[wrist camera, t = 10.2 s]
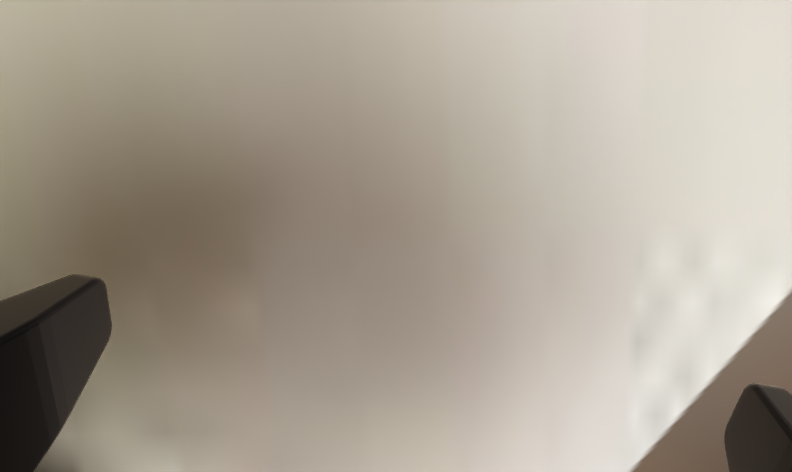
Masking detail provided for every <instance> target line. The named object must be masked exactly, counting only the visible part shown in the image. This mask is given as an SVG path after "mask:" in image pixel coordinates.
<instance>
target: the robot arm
mask: <svg viewBox="0 0 792 472" xmlns="http://www.w3.org/2000/svg"><path fill="white" fill-rule="evenodd" d="M111 328H112V323H111V316H110V309H109V302H108V295H107V289H106V285H105V283H104V281H103V280H101V279H100V278H97V277H91V276H85V275H78V274H73V275H69V276H67V277H64V278H61V279H59V280H56V281H53V282H51V283H48V284H45V285H43V286H40V287H37V288H35V289H32V290H29V291H26V292H24V293H21V294H18V295H16V296H13V297H10V298H8V299H5V300H2V301H0V472H34V470H35V469H36V467H37V466H38V464H39V463H40V461H41V460H42V458H43V457H44V455H45V454H46V452H47V451H48V449H49V448H50V446H51V445H52V443H53V442H54V440H55V439H56V437H57V436H58V434H59V432H60V431H61V429H62V427H63V426H64V424H65V422H66V420H67V419H68V417H69V415H70V413H71V411H72V409H73V408H74V406H75V404H76V402H77V400H78V398H79V396H80V394H81V392H82V390H83V388H84V387H85V385H86V383H87V381H88V379H89V377H90V375H91V373H92V371H93V369H94V368H95V366H96V364H97V362H98V360H99V358H100V356H101V354H102V352H103V350H104V348H105V347H106V345H107V343H108V340H109V338H110V335H111ZM724 444H725V451H726V456H727V463H728V468H729V472H792V394H790V393H789V392H788V391H786V390H785V389H783V388H781V387H777V386H770V385H764V384H758V383H752V384H749V385H747V386H746V387H745V388H744V390H743V392H742V393H741V396H740V398H739V400H738V402H737V404H736V406H735V409H734V410H733V413H732V415H731V417H730V419H729V421H728V423H727V426H726V429H725V435H724Z"/></svg>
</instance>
